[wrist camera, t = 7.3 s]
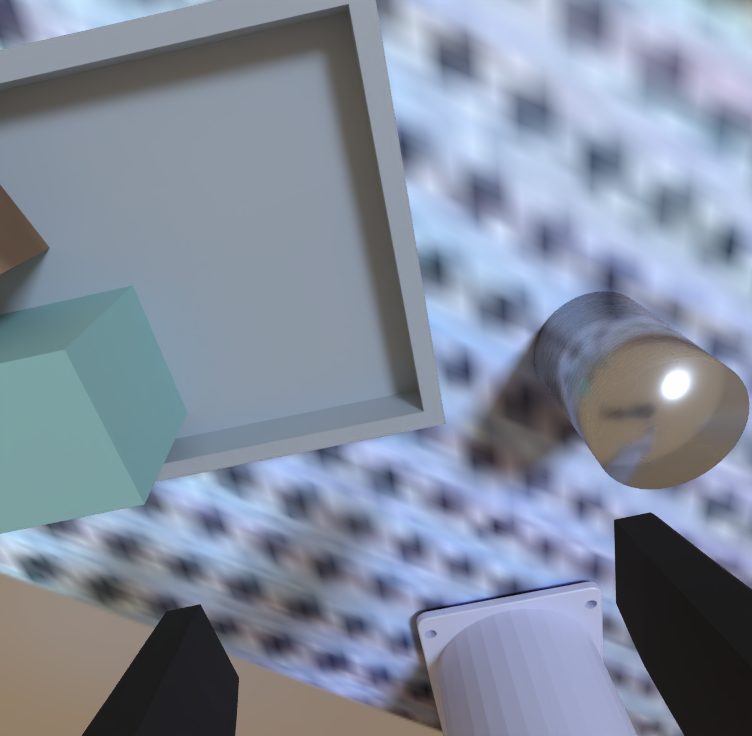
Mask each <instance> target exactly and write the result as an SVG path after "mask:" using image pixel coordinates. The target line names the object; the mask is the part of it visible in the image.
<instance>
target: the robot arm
mask: <svg viewBox="0 0 752 736" xmlns="http://www.w3.org/2000/svg"><path fill="white" fill-rule="evenodd" d="M614 532H615V573H616V604H617V606H618V608H619V611H620V613H621V615H622V617H623V620H624V622H625V624H626V627H627V629H628V631H629V633H630V636H631V638H632V640H633V642H634V644H635V647H636V649H637V651H638V653H639V655H640V658H641V660H642V662H643V664H644V666H645V668H646V669H647V671H648V673H649V675H650V677H651V678H652V680H653V682H654V684H655V685H656V687H657V689H658V691H659V692H660V694H661V696H662V698H663V699H664V701H665V703H666V705H667V706H668V708H669V710H670V711H671V713H672V715H673V717H674V718H675V720H676V722H677V724H678V725H679V727H680V729H681V730H682V732H683V734H684V736H752V589H751V588H749V587H748V586H747V585H745V584H744V583H743V582H741V581H740V580H739V579H737V578H736V577H735V576H733V575H732V574H731V573H729V572H728V571H727V570H725V569H724V568H723V567H721V566H720V565H719V564H717V563H716V562H715V561H714V560H712V559H711V558H710V557H708V556H707V555H706V554H704V553H703V552H702V551H701V550H699V549H698V548H697V547H695V546H694V545H693V544H691V543H690V542H689V541H688V540H686V539H685V538H684V537H683V536H681V535H680V534H679V533H677V532H676V531H675V530H674V529H672V528H671V527H670V526H668V525H667V524H666V523H665V522H663V521H662V520H661V519H660V518H658V517H657V516H655V515H654V514H652V513H651V512H650V513H645V514H641V515H636V516H631V517H626V518H621V519H616V520H614ZM417 628H418V632H419V637H420V641H421V645H422V649H423V653H424V657H425V661H426V665H427V670H428V674H429V678H430V682H431V686H432V690H433V694H434V698H435V703H436V707H437V711H438V715H439V719H440V723H441V727H442V731H443V736H637V734H636V732H635V730H634V727H633V725H632V723H631V721H630V719H629V717H628V714H627V712H626V710H625V708H624V706H623V704H622V701H621V699H620V697H619V695H618V693H617V691H616V688H615V686H614V684H613V682H612V680H611V678H610V676H609V673H608V671H607V669H606V667H605V665H604V663H603V636H602V592H601V589H600V587H599V586H598V584H596V583H595V582H583V583H578V584H572V585H567V586H562V587H556V588H551V589H546V590H540V591H535V592H530V593H524V594H519V595H514V596H508V597H503V598H498V599H492V600H487V601H482V602H476V603H471V604H465V605H460V606H455V607H449V608H444V609H439V610H433V611H428V612H424V613H422V614H420V615H419V616H418V617H417ZM238 683H239V677H238V675H237V673H236V671H235V669H234V668H233V666H232V664H231V662H230V660H229V658H228V656H227V654H226V652H225V650H224V648H223V646H222V644H221V643H220V641H219V639H218V637H217V635H216V633H215V631H214V629H213V627H212V625H211V624H210V622H209V620H208V618H207V616H206V614H205V612H204V610H203V608H202V606H201V605H195V606H190V607H185V608H180V609H176V610H171V611H167V612H166V613H165V615H164V616H163V618H162V619H161V620H160V622H159V623H158V625H157V626H156V628H155V629H154V631H153V632H152V634H151V635H150V637H149V638H148V639H147V641H146V642H145V644H144V645H143V647H142V648H141V650H140V651H139V653H138V654H137V656H136V657H135V659H134V660H133V662H132V663H131V665H130V666H129V668H128V669H127V671H126V672H125V673H124V675H123V676H122V678H121V679H120V681H119V682H118V684H117V685H116V687H115V688H114V690H113V691H112V693H111V694H110V696H109V697H108V699H107V700H106V701H105V703H104V704H103V706H102V707H101V709H100V710H99V712H98V713H97V714H96V716H95V717H94V719H93V720H92V722H91V723H90V725H89V726H88V727H87V729H86V730H85V732H84V733H83V735H82V736H235V730H236V718H237V703H238V685H239V684H238Z"/></svg>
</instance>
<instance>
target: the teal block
mask: <svg viewBox="0 0 752 736" xmlns="http://www.w3.org/2000/svg"><path fill="white" fill-rule="evenodd" d="M186 415H187V410H186V408H185V406H184V403H183V401H182V399H181V396H180V394H179V392H178V389H177V387H176V385H175V382H174V380H173V378H172V375H171V373H170V371H169V368H168V366H167V364H166V361H165V359H164V357H163V354H162V352H161V350H160V347H159V345H158V343H157V340H156V338H155V336H154V333H153V331H152V329H151V326H150V324H149V321H148V319H147V317H146V314H145V312H144V310H143V307H142V305H141V303H140V300H139V298H138V296H137V293H136V291H135V289H134V286H133V285H132V286H128V287H123V288H119V289H114V290H110V291H105V292H101V293H96V294H91V295H87V296H82V297H78V298H73V299H69V300H64V301H60V302H55V303H51V304H46V305H42V306H37V307H33V308H28V309H23V310H19V311H14V312H10V313H5V314H1V315H0V534H1V533H6V532H11V531H16V530H21V529H26V528H31V527H36V526H40V525H45V524H50V523H55V522H60V521H65V520H70V519H75V518H80V517H85V516H89V515H94V514H99V513H104V512H109V511H114V510H119V509H124V508H129V507H133V506H138V505H143V504H145V502H146V500H147V498H148V496H149V494H150V491H151V489H152V487H153V485H154V483H155V481H156V479H157V477H158V475H159V472H160V470H161V468H162V466H163V464H164V462H165V460H166V458H167V456H168V453H169V451H170V449H171V447H172V445H173V443H174V441H175V439H176V436H177V434H178V432H179V430H180V428H181V426H182V424H183V422H184V420H185V417H186Z"/></svg>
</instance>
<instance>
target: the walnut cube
mask: <svg viewBox="0 0 752 736" xmlns="http://www.w3.org/2000/svg"><path fill="white" fill-rule="evenodd" d="M49 248H50V247H49V246H48V245H47V244H46V242H45V241H44V240H43V238H42V237H41V236H40V235H39V233H38V232H37V231H36V230H35V228H34V227H33V226H32V224H31V223H30V222H29V221H28V219H27V218H26V217H25V215H24V214H23V213H22V212H21V210H20V209H19V208H18V207H17V205H16V204H15V203H14V201H13V200H12V199H11V198H10V196H9V195H8V194H7V192H6V191H5V190H4V189H3V187H2V186H1V185H0V275H2V274H4V273H5V272H7V271H9V270H11V269H13V268H14V267H16V266H18V265H20V264H22V263H23V262H25V261H27V260H29V259H31V258H32V257H34V256H36V255H38V254H40V253H41V252H43V251H45V250H47V249H49Z"/></svg>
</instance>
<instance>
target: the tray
mask: <svg viewBox="0 0 752 736" xmlns="http://www.w3.org/2000/svg"><path fill="white" fill-rule="evenodd" d="M0 185H1V186H2V187H3V189H4V190H5V191H6V192H7V194H8V195H9V196H10V198H11V199H12V200H13V201H14V203H15V204H16V205H17V207H18V208H19V209H20V210H21V212H22V213H23V214H24V215H25V217H26V218H27V219H28V221H29V222H30V223H31V224H32V226H33V227H34V228H35V230H36V231H37V232H38V233H39V235H40V236H41V237H42V238H43V240H44V241H45V242H46V244H47V245H48V246H49V247H50V248H49V249H47V250H45V251H43V252H41V253H40V254H38V255H36V256H34V257H32V258H31V259H29V260H27V261H25V262H23V263H22V264H20V265H18V266H16V267H14V268H13V269H11V270H9V271H7V272H5V273H4V274H2V275H0V315H1V314H5V313H10V312H14V311H19V310H23V309H28V308H33V307H37V306H42V305H46V304H51V303H55V302H60V301H64V300H69V299H73V298H78V297H82V296H87V295H91V294H96V293H101V292H105V291H110V290H114V289H119V288H123V287H128V286H132V285H133V286H134V289H135V291H136V293H137V296H138V298H139V300H140V303H141V305H142V307H143V310H144V312H145V314H146V317H147V319H148V321H149V324H150V326H151V329H152V331H153V333H154V336H155V338H156V340H157V343H158V345H159V347H160V350H161V352H162V354H163V357H164V359H165V361H166V364H167V366H168V368H169V371H170V373H171V375H172V378H173V380H174V382H175V385H176V387H177V389H178V392H179V394H180V396H181V399H182V401H183V403H184V406H185V408H186V410H187V415H186V417H185V420H184V422H183V424H182V426H181V428H180V430H179V432H178V434H177V436H176V439H175V441H174V443H173V445H172V447H171V449H170V451H169V453H168V456H167V458H166V460H165V462H164V464H163V466H162V468H161V470H160V472H159V475H158V477H157V479H156V481H161V480H166V479H171V478H176V477H181V476H186V475H191V474H196V473H201V472H206V471H211V470H216V469H221V468H226V467H232V466H237V465H242V464H247V463H252V462H257V461H262V460H267V459H272V458H277V457H282V456H287V455H292V454H297V453H302V452H307V451H312V450H317V449H322V448H327V447H332V446H337V445H342V444H347V443H352V442H357V441H362V440H367V439H372V438H377V437H382V436H387V435H392V434H397V433H402V432H407V431H412V430H417V429H422V428H428V427H433V426H438V425H443V424H445V418H444V411H443V405H442V399H441V393H440V387H439V381H438V375H437V369H436V363H435V357H434V351H433V345H432V339H431V333H430V327H429V321H428V314H427V308H426V302H425V296H424V290H423V284H422V278H421V272H420V266H419V260H418V254H417V248H416V242H415V236H414V230H413V224H412V218H411V211H410V205H409V199H408V193H407V187H406V181H405V175H404V169H403V163H402V157H401V151H400V145H399V139H398V133H397V127H396V121H395V114H394V108H393V102H392V96H391V90H390V84H389V78H388V72H387V66H386V60H385V54H384V48H383V42H382V36H381V30H380V24H379V17H378V11H377V5H376V0H216V1H212V2H208V3H203V4H199V5H194V6H190V7H186V8H181V9H177V10H173V11H168V12H164V13H160V14H155V15H151V16H147V17H142V18H138V19H134V20H129V21H125V22H121V23H116V24H112V25H107V26H103V27H99V28H94V29H90V30H86V31H81V32H77V33H73V34H68V35H64V36H60V37H55V38H51V39H47V40H42V41H38V42H33V43H29V44H25V45H20V46H16V47H12V48H7V49H3V50H0ZM156 481H155V482H156Z"/></svg>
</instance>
